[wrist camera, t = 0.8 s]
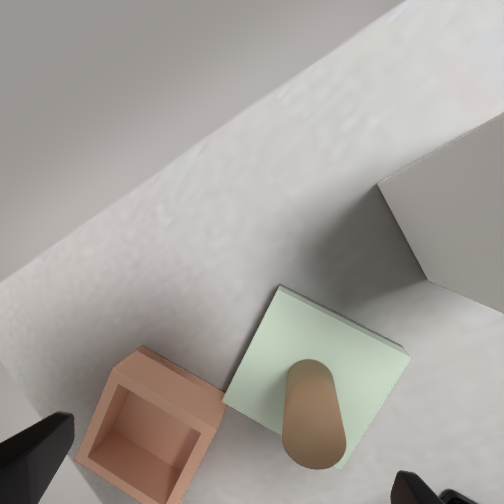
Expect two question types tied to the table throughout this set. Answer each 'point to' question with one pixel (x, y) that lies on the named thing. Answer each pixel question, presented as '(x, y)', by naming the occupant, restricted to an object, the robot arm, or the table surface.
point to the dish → (151, 428)
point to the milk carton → (456, 213)
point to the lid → (314, 379)
